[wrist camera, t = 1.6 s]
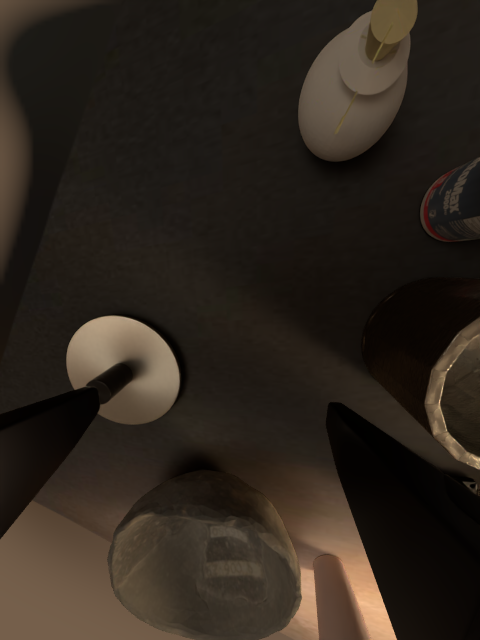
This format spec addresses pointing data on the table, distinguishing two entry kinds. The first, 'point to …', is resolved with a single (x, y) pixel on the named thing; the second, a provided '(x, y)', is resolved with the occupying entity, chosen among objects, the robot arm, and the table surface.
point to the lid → (125, 368)
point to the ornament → (357, 83)
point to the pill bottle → (454, 205)
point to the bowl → (206, 560)
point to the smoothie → (337, 602)
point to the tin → (432, 358)
